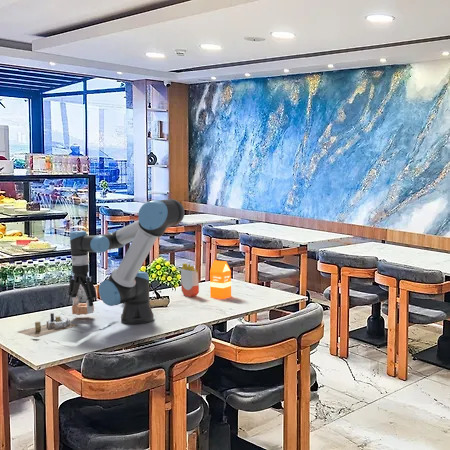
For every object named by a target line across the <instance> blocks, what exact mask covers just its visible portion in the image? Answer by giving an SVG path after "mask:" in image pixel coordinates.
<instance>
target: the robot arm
mask: <svg viewBox="0 0 450 450" xmlns="http://www.w3.org/2000/svg"><path fill="white" fill-rule="evenodd" d="M137 217H138V220H136V221H134V222H132V223H129V224H127V225H125V226H123V227H121V228H119V229H118V230H115V231H113V232H110V233H103V234H98V235H97V234H96V235H88V233H87V231H86V230H75V231H74V230H73V231H71V232H70V234H69V242H70V243H69V244H70V253H71V255H70V256H71V264H72V266H71V273H72V274H70V275H69V286H68V296H69V297H71V304H72V305H76V304H79V296H78V293H79V289H80V286H81V287H82V288H83V290H84V293H85V295H86V297H87V298H86V303H87V314H86V315H89V314H93V313H94V311H93V305H94V299H95V298H96V297H97V295H96V291H95V286H94V281H93V278H94V277H93V276H89V275H88V273H89V272H90V269H89V268H90V265H89V253H98V254H100V253H105V252H107V251H109V250H115V249H121V248H124V247H125V246H126V245H127V244H129V243H130V244H129V247H128V249H126V250H127V251H126V253H125V255H124V256H123V258H122V260H121V261H120V263H119V266H118V267H117V269H114V270H112V271H111V273H110V275H109V277H108V279H105V280H103V281H101V282H100V283H99V285H98V294H99V298H100V300H101V301H102V302H103V304H105V305H107V306H110V307H113V306H119V305H121V304H122V303H124V304H123V308H122V314H121V316H120V322H121V323H123V324H127V325H143V324H147V323H150V322H153V321H154V319H155V317H154V313H153V309H152V306H151V304H150V278H149V273H148V272H147V271H142V270H141V268H142V266H143V264H144V263H145V260H146V259H147V257H148V255H149V253H150V252H151V250H152V248H153V246H154V245H155V243H156V241H157V239H158V238H161V237H162V236H163V235H165V232H166V230H167V229H168V228H170V227H174V226H177V225H179V224H180V223H181V222H183V219H184V217H185V209H184V206H183V204H182V203H181V202H180V201H178V200H176V199H173V198H168V199H153V200H150V201H147V202H144V203H143V204H142V205H141V206H140V208H139V210H138V214H137ZM140 270H141V271H140Z"/></svg>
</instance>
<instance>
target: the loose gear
mask: <svg viewBox="0 0 450 450" xmlns="http://www.w3.org/2000/svg"><path fill="white" fill-rule="evenodd" d="M94 305H95V304H93V312H95V307H94ZM71 313H72V315H76V316H80V315H88V314H87V302H84V303H82V302H78V304H76V305H73V304H72V305H71Z"/></svg>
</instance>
